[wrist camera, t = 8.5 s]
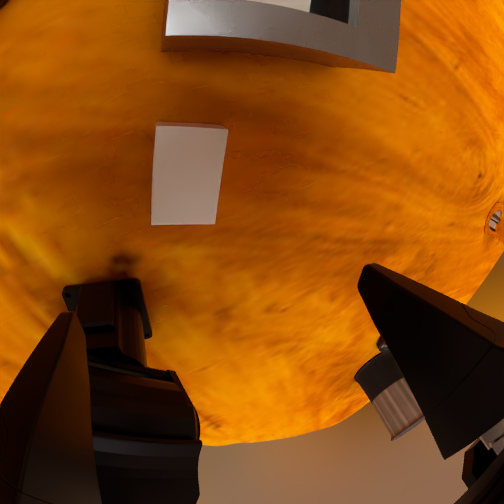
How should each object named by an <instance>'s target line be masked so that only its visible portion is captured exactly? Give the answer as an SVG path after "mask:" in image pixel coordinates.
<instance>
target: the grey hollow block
mask: <svg viewBox="0 0 504 504" xmlns="http://www.w3.org/2000/svg"><path fill="white" fill-rule="evenodd" d="M400 8H401V0H311V4H310V10H309V12H306V11H302V10H297V9H293V8H289V7H284V6H279V5H273V4H268V3H262V2H255V1H248V0H166V2H165V11H164V21H163V32H162V45H161V51H224V52H240V53H251V54H261V55H269V56H277V57H283V58H290V59H296V60H302V61H307V62H312V63H317V64H322V65H326V66H331V67H343V68H355V69H365V70H374V71H382V72H389V73H395V70H396V61H397V51H398V40H399V27H400Z"/></svg>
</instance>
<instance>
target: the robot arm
mask: <svg viewBox="0 0 504 504" xmlns="http://www.w3.org/2000/svg"><path fill="white" fill-rule="evenodd" d="M132 285H137V286H132ZM358 291H359V293H360V295H361V297H362V299H363V301H364V303H365V305H366V307H367V310H368V312H369V314H370V316H371V318H372V320H373V322H374V324H375V326H376V328H377V330H378V332H379V333H380V335H381V337H382V339H383V340H384V342H385V344H386V346H387V347H388V349H389V351H390V353H391V355H392V356H393V358H394V360H395V362H396V364H397V365H398V367H399V369H400V371H401V373H402V375H403V377H404V378H405V380H406V382H407V384H408V386H409V388H410V390H411V392H412V394H413V396H414V398H415V400H416V402H417V404H418V406H419V408H420V410H421V412H422V414H423V416H424V418H425V420H426V422H427V424H428V426H429V428H430V431H431V433H432V435H433V437H434V439H435V441H436V444H437V446H438V448H439V450H440V452H441V455H442V457H443V458H444V460H445V459H447V458H448V457H450V456H452V455H454V454H455V453H457V452H458V451H460V450H461V449H463V448H465V447H466V446H467V445H469V444H471V443H472V442H473V441H475V440H476V439H477V440H476V441H475V443H473V444H472V445H471V446H470V448H469V449H468V450H467V451H466V452H465V455H464V464H463V472H462V479H463V481H464V483H465V484H466V486H467V487H468V490H467V491H466V492H465V493H464V494H463V495H462V496H461V497H460V498H459V499H458V500H457V501H456V502H455V503H454V504H504V322H502V321H500V320H498V319H495V318H493V317H490V316H488V315H486V314H484V313H482V312H479V311H477V310H475V309H473V308H470V307H469V306H467V305H465V304H463V303H460V302H459V301H456V300H454V299H452V298H450V297H448V296H446V295H444V294H442V293H440V292H438V291H436V290H433V289H431V288H429V287H427V286H425V285H423V284H421V283H418V282H416V281H414V280H412V279H410V278H408V277H405V276H403V275H401V274H399V273H397V272H394V271H392V270H390V269H388V268H385V267H383V266H381V265H379V264H376V263H372V264H367V265H365V266H364V267H363V270H362V273H361V275H360V278H359V281H358ZM67 293H69V294H67ZM62 296H63V299H64V301H65V303H66V306H67V308H68V310H69V312H62V313H60V314H59V316H58V317H57V318H56V320H55V321H54V322H53V324H52V325H51V326H50V328H49V329H48V330H47V332H46V333H45V335H44V336H43V337H42V339H41V340H40V342H39V343H38V345H37V346H36V348H35V349H34V350H33V352H32V353H31V355H30V356H29V358H28V359H27V361H26V363H25V364H24V366H23V367H22V369H21V370H20V372H19V373H18V375H17V377H16V378H15V380H14V382H13V383H12V385H11V387H10V388H9V390H8V392H7V393H6V395H5V397H4V398H3V400H2V402H1V404H0V504H196V503H197V500H198V498H199V495H200V492H199V484H198V460H199V454H200V451H201V447H202V441H201V440H199V438H200V422H199V417H198V414H197V411H196V409H195V407H194V406H193V404H192V402H191V400H190V398H189V397H188V395H187V393H186V391H185V389H184V387H183V385H182V384H181V382H180V380H179V378H178V376H177V374H176V372H175V371H171V370H167V371H164V370H159V369H154V368H149V367H147V361H146V352H145V342H144V339H148V338H151V337H152V330H151V326H150V322H149V318H148V314H147V309H146V305H145V301H144V296H143V292H142V287H141V283H140V281H139V280H138V279H127V280H119V281H111V282H102V283H94V284H86V285H78V286H69V287H65V288H64V289H63V292H62Z"/></svg>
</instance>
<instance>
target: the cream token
mask: <svg viewBox="0 0 504 504" xmlns="http://www.w3.org/2000/svg"><path fill="white" fill-rule="evenodd" d="M248 1H255V2H262V3H268V4H273V5H279V6H284V7H289V8H293V9H297V10H302V11H306V12H309V10H310V4H311V0H248Z"/></svg>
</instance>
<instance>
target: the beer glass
mask: <svg viewBox="0 0 504 504" xmlns="http://www.w3.org/2000/svg"><path fill="white" fill-rule="evenodd" d="M485 232H486V233H487V234H488V235H490V236H492V237H494V238H496V239H498V240H499V241H501V242H502V243H503V244H504V205H503V204H502V203H500V202H497V203H496V204H495V205H494V206H493V208H492V209H491V211H490V213H489V215H488V217H487V220H486V223H485Z"/></svg>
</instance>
